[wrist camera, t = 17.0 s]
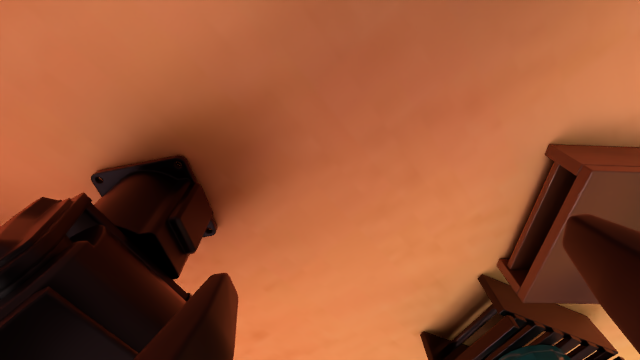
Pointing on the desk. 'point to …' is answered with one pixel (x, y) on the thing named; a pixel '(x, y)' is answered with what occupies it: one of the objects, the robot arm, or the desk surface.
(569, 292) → the shelf
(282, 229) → the desk surface
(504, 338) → the rack
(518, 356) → the cup
